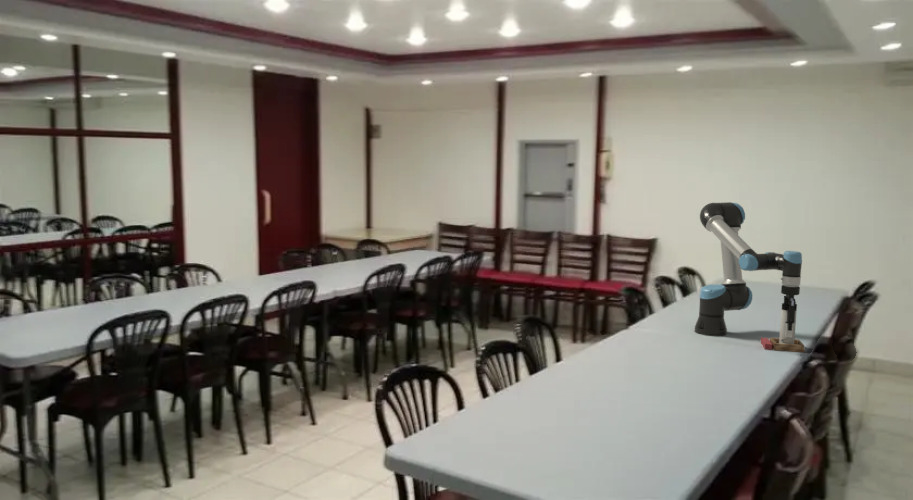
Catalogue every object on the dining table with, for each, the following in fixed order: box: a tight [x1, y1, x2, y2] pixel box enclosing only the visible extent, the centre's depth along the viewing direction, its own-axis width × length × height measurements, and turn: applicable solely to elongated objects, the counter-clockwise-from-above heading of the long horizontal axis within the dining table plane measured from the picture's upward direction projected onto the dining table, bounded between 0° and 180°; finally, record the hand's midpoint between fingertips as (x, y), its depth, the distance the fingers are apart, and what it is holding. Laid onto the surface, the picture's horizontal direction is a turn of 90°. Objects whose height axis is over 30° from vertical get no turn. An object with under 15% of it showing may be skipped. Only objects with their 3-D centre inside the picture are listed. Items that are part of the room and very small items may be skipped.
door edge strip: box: [760, 337, 773, 351], centre depth 327 cm, size 3×12×2 cm, turn 165°
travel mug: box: [778, 302, 798, 344], centre depth 323 cm, size 6×7×20 cm
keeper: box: [769, 337, 806, 353], centre depth 325 cm, size 13×13×3 cm
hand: (787, 335), depth 324 cm, fingers open, 6 cm apart
